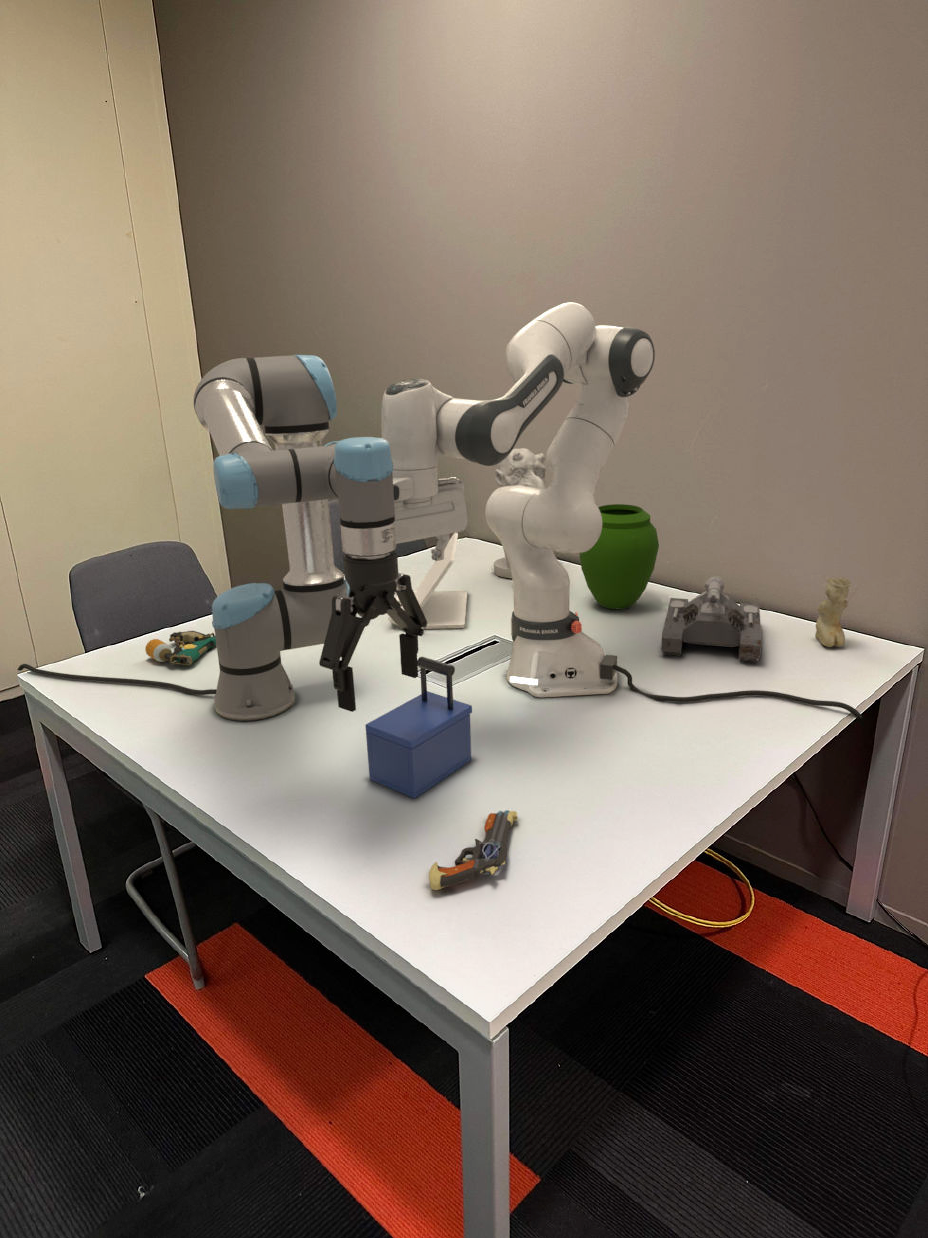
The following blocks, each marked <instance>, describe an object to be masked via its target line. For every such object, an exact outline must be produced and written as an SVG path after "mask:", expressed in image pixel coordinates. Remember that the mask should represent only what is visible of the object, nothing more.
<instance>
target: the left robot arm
mask: <svg viewBox="0 0 928 1238" xmlns="http://www.w3.org/2000/svg"><path fill="white" fill-rule="evenodd" d="M337 401H338V399H337V395H336V390H335V386H334V382H333V379H332V376H331V373H330V371H329V368H328V366H327V364H326V363H325V362H324V360H323V359H322V358H321V357H319V356H317V355H311V354H293V355H292V354H291V355H277V356H260V357H259V356H257V357H237V358H233V359H229V360H227V361H224V362H222V363H219V364H218V365H216V366H214V367H213V368H211V369H210V370H209V371H208V372H206V374H205V375H204V376H202V378H201V379H200V381H199V382H198V384H197V386H196V388H195V391H194V394H193V408H194V412H195V415H196V418H197V419H198V420H197V421H198V422H199V423H200V424H201V426H202V427H203V428H204V429H206V430H207V431H208V432H209V433H210V437H211V438H212V441H213V443H214V446H215V448H216V451H217V453H218V455H219V456H216V457H215V459H214V460H213V464H212V465H213V477H214V478H213V479H214V485H215V491H216V494H217V495H216V496H217V499H218V502H219V505H220V506H221V507H222V508H224V509H225V510H226V509H227V510H239V509H244V510H250V509H253V508H261V507H268V506H270V507H271V506H279V505H281V506H282V516H283V523H284V533H285V541H286V549H287V557H288V567H289V570H288V572H287V573H286V574H285V576H284V577H283V578H282V585H283V588H282V589H277V590H275V588H273V586H272V585H271V584H269V583H266V582H259V583H258V582H252V583H251V582H250V583H246V584H241V585H237V586H234V587H231V588H229V589H227V590H225V591H223V592H222V593H220V594H219V595H218V596H217V597H215V598H214V600H213V602H212V604H211V615H212V622H211V625H212V628H213V629H214V636H215V637H216V645H215V646H216V652H217V659H218V667H219V675H218V678H217V679H218V680H217V685H216V688H214V689H213V688H212V689H210V688H209V689H194V688H189V687H185V686H182V685H180V684H179V685H178V684H175V683H170V682H164V681H157V680H147V679H138V678H137V679H136V678H123V677H122V678H121V677H109V676H108V677H107V676H106V677H105V676H96V675H95V676H94V675H93V676H92V675H81V674H73V673H72V674H71V673H63V672H57V671H49V670H45V669H40V668H36V667H34V666H32V665H31V664H29V663H28V664H27V663H22V664H20V665H19V666H18V667H17V671H18V672H19V671H23V670H24V669H26V670H28V671H30V672H31V673H34V674H38V675H42V676H47V677H52V678H53V677H54V678H61V679H67V680H75V681H76V680H78V681H87V682H88V681H89V682H100V683H114V684H115V683H118V684H130V685H131V684H132V685H141V686H152V687H153V686H154V687H161V688H168V689H173V690H177V691H180V692H183V693H185V694H186V693H187V694H190V695H197V696H205V695H206V696H207V695H214V709H215V712H216V713H217V714H218V715H219V716H220V717H222V718H224V719H227V720H231V721H239V722H240V721H242V722H245V721H246V722H248V721H259V720H265V719H269V718H272V717H274V716H278V715H279V714H281V713H284V712H285V711H287V710H288V709H290V708H291V707H292V706H293V704H294V703H295V701H296V696H295V690H294V686H293V684H292V682H291V680H290V678H289V675H288V673H287V672H286V670H285V668H284V665H283V663H282V656H281V652H283V651H289V650H295V649H301V648H307V647H313V646H318V645H323V646H322V649H321V655H320V658H319V666H320V667H322V668H325V669H328V670H331V671H332V681H333V687H334V689H335V690H336V693H337V706H338V708H339V709H342V710H345V711H348V712H350V713H351V712H352V713H353V712H356V711H357V707H356V706H357V705H356V704H357V703H356V693H355V681H354V670H353V666H349V664H350V662H351V661H352V657H353V656H354V653H355V651H356V649H357V646H358V644H359V642H360V639H361V636H362V634H363V633H364V630H365V628H366V627H368V626H369V625H370V624H371V623H370V622H371V621H372V620H374V619H376V618H378V617H379V616H384V615H388V616H389V617H391V618H392V619H393V621H394V622H395V623H396V624H397V625H398V627H399V628H400V630H401V631H402V632H403V633H400V634H398V636H399V637H398V638H399V654H400V669H401V670H400V671H401V672H400V673H401V675H402V676H405V677H408V678H409V677H410V678H413V679H416V678H419V670H418V669H419V667H418V663H417V661H418V654H419V637H423V636H424V634H425V629H421V628H422V627H424V628H425V627H426V626H427V620H426V618H425V616H424V613H423V611H422V609H421V607H420V605H419V603H418V600H417V598H416V596H415V594H414V589H413V587H412V579H411V576H410V574H404V573H399V561H398V553H397V552H396V551H395V550H396V549H397V544H396V532H395V510H394V491H393V472H392V471H393V462H392V458H391V451H390V445H389V443H388V442H387V441H386V440H385V439H382V437H376V436H357V437H349V438H343V439H340V440H335V441H330V442H327V443H326V444H324V445H323V440H324V438H325V437H326V435H327V434H329V432H330V425H329V424H330V423H329V422H330V421H331V422H332V421H333V420H335V419H336V418H337V415H338V402H337ZM261 426H264V427H263V428H264V431H263V429H262V427H261ZM268 439H269V440H270V441H272V442H273V444H274V446H275V450H273V447H272V446H271V444H270V442H269V440H268ZM333 499H337V502H338V508H339V510H338V511H339V525H340V537H341V550H342V553H344V555H343V557H342V561H343V562H342V564H343V571H341V570H340V569H339V568H338V567H337V566H336V565H335V556H334V555H335V554H334V544H333V535H332V526H331V524H332V523H331V517H330V516H331V514H330V507H329V506H330V505H329V500H333ZM395 594H396V595H397V596H398V598H399V600H400V602H401V603H399V602H398V601H397V600H396V596H395ZM401 606H402V607H403V609H404V610H403V609H402V608H401ZM357 615H358V616H357ZM396 624H395V625H396ZM397 625H396V626H397Z"/></svg>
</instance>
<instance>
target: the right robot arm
mask: <svg viewBox="0 0 928 1238" xmlns="http://www.w3.org/2000/svg"><path fill="white" fill-rule="evenodd" d="M655 359H656V351H655V346H654V343H653V340H652V338H651V336H650V334H649V333H648V332H646V331H645V330H642V329H640V328H636V327H632V326H625V327H621V326H615V325H596V321H595V318H594V317H593V315H592V313H591V312H590V311H589V310H588V309H587V308H586V307H585V306H584V305H582V304H580V303H577V302H565V303H561V304H559V305H557V306H554V307H553V308H550V309H548V310H547V311H545V312H542V313H541V314H539V315H538V316H537V317H535V318H534V319H532V320H531V321H530V322H529V323H527V324H526V325H524V327H522V328H521V329H519V330H518V331H517V332H516V333H515V334H514V335H513V336H512V338H511V339H510V341H508V343H507V346H506V348H505V355H504V362H505V367H506V370H507V372H508V375H509V377H510V379H511V381H512V382H513V383H514V384H513V386H511V388H510V389H509V390H508V391H507V392H506V393H505V394H504V395H503V396H501V397H499V398H496V399H487V400H479V399H477V400H476V399H466V398H458V397H453V396H451V395H449V394H446V393H444V392H442V391H440V390H438V389H437V388H435V387H434V386H433V385H432V383H431V382H430V381H429V380H427V379H425V378H411V379H407V380H406V379H404V380H400V381H396V382H394V383H392V384H390V385H389V386H388V387H386V389H385V391H384V392H383V396H382V401H381V413H380V415H381V416H380V418H381V419H380V421H381V422H380V423H381V424H380V425H381V427H380V429H381V438H382V439H385V440H386V441H387V442H388V443H389V445H390V451H391V458H392V462H393V471H392V472H393V491H394V510H395V532H396V545H397V544H398V545H399V544H402V543H403V544H404V543H409V542H414V541H418V540H424V539H429V538H434V537H435V538H436V539H437V542H436V545H435V547H434V548H432V549H430V551H431V553H430V554H431V559H432V561H434V562H435V561H440V560H443V559H444V550H445V548H446V546H447V544H448V542H449V540H450V539H451V537H450V534H454V533H455V532H456V533H460V532H464V531H465V530H466V528H467V526H468V522H469V521H468V520H469V519H468V512H467V505H466V499H465V484H464V483H463V481H462V480H461V479H458V478H457V477H456V476H451V477H448V478H439V462H438V457H439V456H443V457H448V458H451V459H452V458H453V459H458V460H465V461H469V462H472V463H474V464H478V465H481V466H485V467H493V466H497V464H499V463H500V462H502V461H503V460H504V459H505V458H506V457H507V456H508V455H509V454H510V453H511V451H512V450H513V449H515V446H516V445H517V443H518V441H519V439H520V437H521V436H522V434H523V433H524V431H525V430H526V429H527V428H528V426H529V425H530V424H531V423H532V422H533V421H534V420H535V419H536V417H537V416H538V415H539V414H540V413H541V412H542V411H543V410H544V408H545V407H546V406H547V405H548V404H549V403H550V401H552V399H554V397H555V396H556V395H557V393H558V392H559V390H560V389H561V387H562V385H563V383H564V384H569V385H572V384H576V385H581V390H580V395H579V397H578V399H577V401H576V403H575V404H574V405H573V407H572V408H571V410H570V411H569V413H568V414H567V416H566V417H565V419H564V420H563V422H562V425H561V426H560V428H559V430H558V431H557V433H556V435H555V437H554V438H553V440H552V442H551V444H550V445H549V446H548V448H547V451H546V456H545V459H546V464H547V466H548V468H549V470H550V472H551V473H552V474H553V476H552V480H551V482H550V484H549V486H548V487H546V489H540V488H534V487H529V486H524V485H515V486H505V487H502V486H499V487H498V488H496V489H495V490H494V491H493V492H492V493H491V495H490V496H489V498H488V499H487V502H486V504H485V510H484V511H485V514H484V515H485V521H486V524H487V527H488V528H489V529H490V530H491V531H492V533H494V534H495V536H496V537H497V539H498V540H499V542H500V544H501V546H502V548H503V552H504V551H505V553H506V556H507V559H508V562H509V565H510V569H511V573H512V578H511V579H512V592H513V593H512V594H513V596H512V597H513V611H512V612H511V618H510V635H511V640H512V645H511V646H512V647H511V655H510V660H509V665H508V669H507V672H506V675H505V678H506V681H507V683H509V684H510V685H511V686H513V687H515V688H517V689H519V690H522V691H525V692H527V693H529V694H530V695H531V696H533V697H535V698H556V697H572V696H573V697H574V696H588V695H589V696H590V695H591V696H592V695H607V694H611V693H612V692H613V691H615V690H616V688H617V686H618V673H620V674H622V675H624V676H625V677H626V678H627V679H626V680H627V681H626V682H627V683H626V684H627V686H628V688H629V689H630V690H631V691H632V692H634V693H637V694H640V695H642V696H644V697H646V698H649V699H650V700H651V699H652V700H654V701H655V700H656V701H663V702H673V703H692V702H698V701H699V702H700V701H706V700H717V699H729V698H737V697H747V696H748V697H750V696H762V697H772V698H779V699H783V700H787V701H792V702H796V703H800V704H805V705H811V706H817V707H818V706H821V707H833V708H840V709H844V710H846V711H847V712H849V713H851V714H852V715H853V716H854V717H855V718H857V719H863V715H862V713H860V712H859V710H857V709H856V708H854V707H853V706H851V705H850V704H848V703H845V702H841V701H834V700H819V699H810V698H806V697H802V696H797V695H793V694H788V693H783V692H779V691H772V690H771V691H770V690H760V689H759V690H756V689H755V690H754V689H752V690H749V689H748V690H737V691H729V692H719V693H707V694H701V695H692V696H671V695H661V694H660V695H659V694H651V693H646V692H644V691H642V690H641V689H639V688H638V687H636V686H635V684H634V683H633V675H632V674H631V672H629V671H628V670H627V669H626V668H625V667H621V666H619V665H618V655H614V654H613V655H612V654H605V651H604V648H603V647H602V645H601V644H600V643H599V642H598V641H596V640H595V639H593V638H591V637H590V636H589V635H587V634H586V633H585V632H583V631H582V630H583V626H582V625H583V624H582V622H581V621H580V616H579V615H578V612H577V611H575V613H574V612H573V611H571V610H570V590H571V589H570V586H571V585H570V584H571V579H570V576H569V572H568V571H567V570H566V568H565V567H564V566H563V565H562V564H561V562H560V561H559V560H558V558H557V557H556V555H555V552H558V553H561V554H576V553H577V554H579V553H582V552H586V551H588V550H590V549H591V548H592V547H593V546H594V545H595V544H596V542H597V541H598V539H599V537H600V535H601V531H602V516H601V513H600V510H599V508H598V507H599V506H598V505H597V503H596V487H597V483H598V480H599V478H600V476H601V473H602V471H603V469H604V467H605V465H606V464H607V462H608V459H609V458H610V456H611V454H612V452H613V450H614V449H615V447H616V445H617V443H618V441H619V439H620V437H621V434H622V432H623V430H624V428H625V425H626V422H627V419H628V417H629V416H628V415H629V412H630V408H631V407H630V406H631V405H630V399H629V397H630V396H633V395H634V394H636V393H637V392H638V391H639V389H640V388H641V386H642V385H643V384H644V382H645V381H646V380H647V378H648V377H649V375H650V374H651V371H652V369H653V367H654V364H655ZM505 553H504V554H505ZM617 672H618V673H617Z"/></svg>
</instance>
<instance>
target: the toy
mask: <svg viewBox="0 0 928 1238" xmlns="http://www.w3.org/2000/svg"><path fill="white" fill-rule="evenodd" d="M704 589H705V590H704V591H702V592H701V593H700V594H698V595H697V596H696V597H694V598H693V599H691V600H690V601H689V598H679V597H670V598H669V602H668V605H667V611H666V615H665V620H664V625H663V629H662V635H661V648H660V649H661V652H662V655H668V656H678V657H679V656H681V655H682V650H683V643H686V644H690V645H703V646H715V647H727V648H734V647H738V660H739V661H740V660H742V661H755V662H758V660H760V657H761V652H762V628H761V610H760V609H761V608H760V603H751V602H750V603H749V602H740V603H737V602H736V601H735V600H734V599H732V597H730V595H727V594H725V593H724V589H725V582H724V580H723V579H722V578H721V577H720V576H717V575H716V576H715V575H714V576H712V575H711V576H710V577H709V578H708V579H707V580H705V582H704Z"/></svg>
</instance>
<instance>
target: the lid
mask: <svg viewBox="0 0 928 1238" xmlns="http://www.w3.org/2000/svg"><path fill="white" fill-rule="evenodd" d="M417 663H418V668H420V689H421V691H420V694H419V695H417V696H415V697H413V698H412V699H409V700H408V701H406V702H404V703H402V704H401V705H399V706H397V707H395V708H394V709H392V710H390V711H388V712H386V713H384V714H381V716H378V717H377V718H374V719H372V720H371V721H370V722H367V723H366V724H365V733H366V732H368V733H371V734H374V735H376V736H379V737H382V738H384V739H387V740H389V741H392V742H395V743H397V744H400V745H402V746H405V747H408V748H410V749H413V748H414V747H416V746H418V745H419V744H421V743H423V742H424V741H426V740H428V739H429V738H431V737H432V736H434V735H436V734H437V733H439V732H441V731H442V730H444V729H446V728H447V727H449V726H450V725H452V724H454V723H455V722H457V721H459V720H460V719H462V718H464V717H465V716H467V715H469V714H470V715H471V714H472V713H473V706H472V705H471V704H468V703H465V702H462V701H458V700H456V699H454V691H453V676H454V674H455V671H456V668H455V666H454V665H452V664H449V663H445V662H442V661H439V660H435V659H432V658H428V657H425V656H419V657H418V658H417ZM427 671H429V672H432V673H437V674H440V675H443V676H446V677H445V678H446V679H445V680H446V696H444V695H440V694H438V693H434V692H431V691H428V683H427V682H428V681H427Z"/></svg>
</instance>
